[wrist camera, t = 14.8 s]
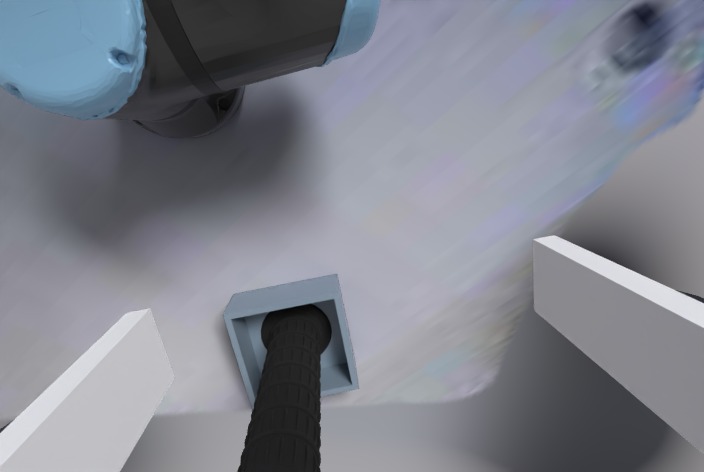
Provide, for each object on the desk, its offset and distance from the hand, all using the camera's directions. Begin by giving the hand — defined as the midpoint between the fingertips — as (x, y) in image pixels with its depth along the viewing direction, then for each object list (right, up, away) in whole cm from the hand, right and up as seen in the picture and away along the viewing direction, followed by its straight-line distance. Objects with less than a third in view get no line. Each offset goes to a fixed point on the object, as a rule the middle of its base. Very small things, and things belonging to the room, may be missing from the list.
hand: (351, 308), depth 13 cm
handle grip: (-8, -11, +40) cm, 42 cm away
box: (-8, -11, +41) cm, 43 cm away
